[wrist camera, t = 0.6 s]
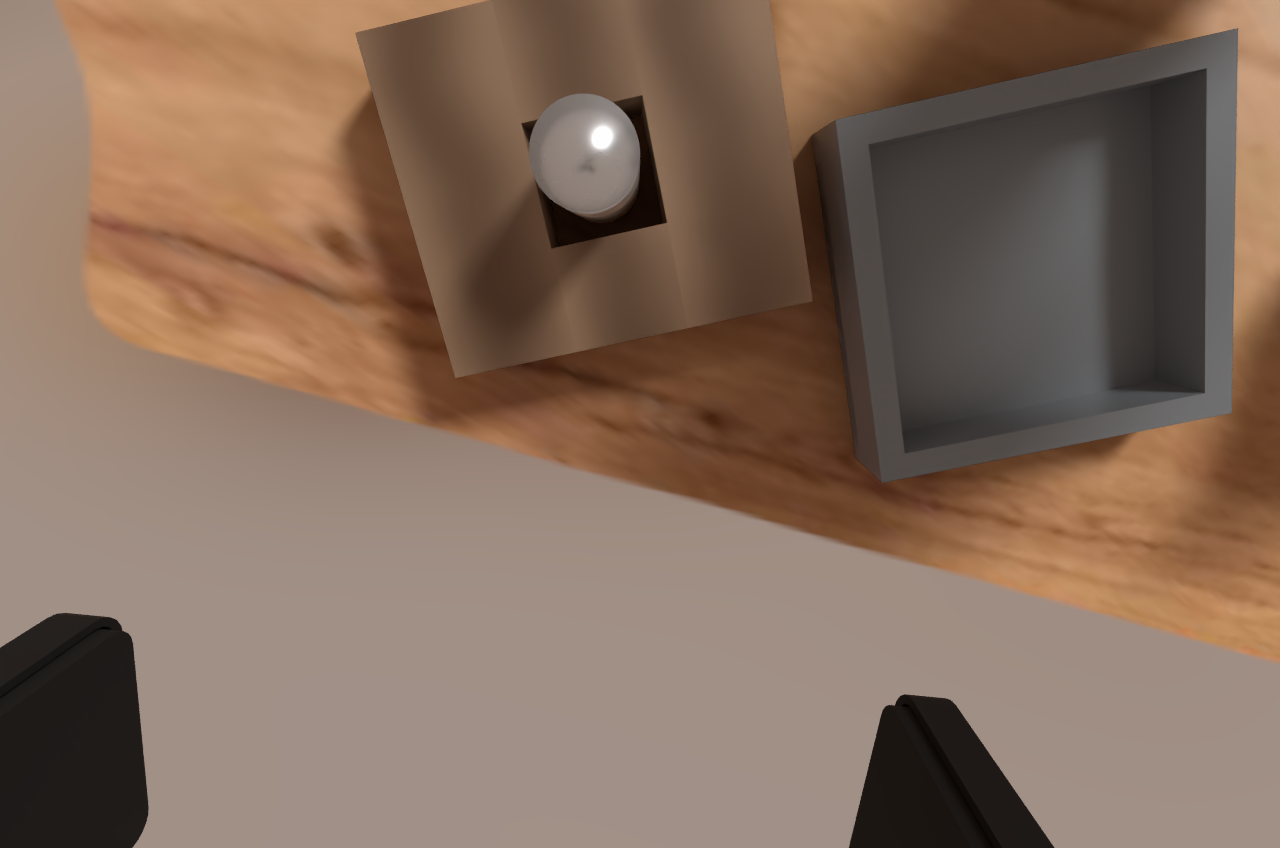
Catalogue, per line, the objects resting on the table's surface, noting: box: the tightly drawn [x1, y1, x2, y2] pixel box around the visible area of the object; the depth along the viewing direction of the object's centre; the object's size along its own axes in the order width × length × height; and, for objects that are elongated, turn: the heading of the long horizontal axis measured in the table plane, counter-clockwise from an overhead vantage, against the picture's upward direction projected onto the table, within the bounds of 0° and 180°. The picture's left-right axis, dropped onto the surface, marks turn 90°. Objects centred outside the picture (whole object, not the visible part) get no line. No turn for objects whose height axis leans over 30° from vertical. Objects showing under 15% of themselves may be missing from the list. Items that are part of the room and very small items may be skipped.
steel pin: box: [529, 94, 640, 223], centre depth 26 cm, size 4×4×10 cm
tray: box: [812, 28, 1238, 483], centre depth 30 cm, size 16×16×4 cm
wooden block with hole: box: [355, 0, 813, 378], centre depth 29 cm, size 16×14×4 cm
